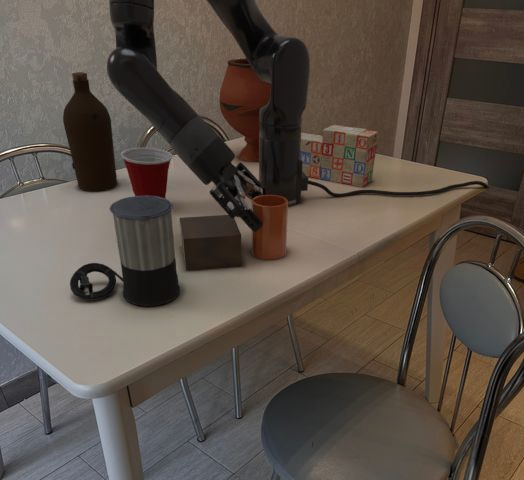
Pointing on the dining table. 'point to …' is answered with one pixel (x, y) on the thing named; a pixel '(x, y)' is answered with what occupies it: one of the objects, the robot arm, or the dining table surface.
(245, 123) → the goblet
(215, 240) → the walnut block
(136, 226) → the milk frother
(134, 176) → the plastic cup
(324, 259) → the dining table surface
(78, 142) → the olive oil
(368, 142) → the stack of blocks
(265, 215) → the terracotta cup
